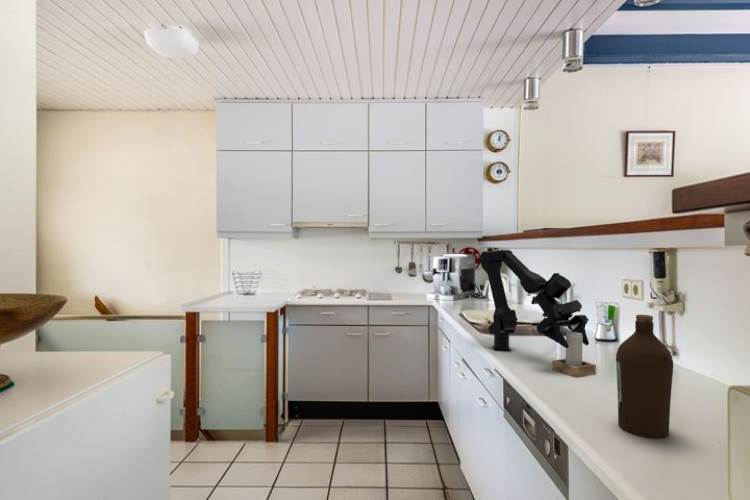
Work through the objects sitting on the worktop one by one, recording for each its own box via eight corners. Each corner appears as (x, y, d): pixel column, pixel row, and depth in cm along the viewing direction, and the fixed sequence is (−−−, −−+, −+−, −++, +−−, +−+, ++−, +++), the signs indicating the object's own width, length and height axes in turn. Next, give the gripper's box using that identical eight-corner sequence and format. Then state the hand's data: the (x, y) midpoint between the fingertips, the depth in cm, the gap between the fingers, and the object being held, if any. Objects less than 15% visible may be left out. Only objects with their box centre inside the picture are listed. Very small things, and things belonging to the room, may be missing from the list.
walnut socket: (552, 369, 138) (552, 360, 138) (571, 366, 142) (571, 357, 142) (576, 377, 130) (576, 368, 130) (595, 373, 134) (596, 364, 134)
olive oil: (675, 428, 93) (676, 315, 93) (668, 445, 85) (670, 321, 85) (620, 415, 100) (622, 310, 100) (610, 429, 92) (611, 315, 92)
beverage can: (581, 369, 137) (582, 332, 137) (581, 373, 133) (582, 335, 132) (565, 367, 139) (566, 331, 139) (565, 371, 135) (566, 333, 134)
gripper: (544, 292, 135) (573, 334, 125) (584, 290, 143) (614, 329, 133) (525, 313, 142) (551, 354, 132) (564, 310, 150) (591, 348, 140)
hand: (577, 346), depth 134 cm, fingers open, 9 cm apart
